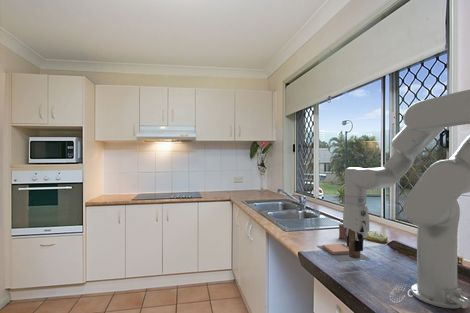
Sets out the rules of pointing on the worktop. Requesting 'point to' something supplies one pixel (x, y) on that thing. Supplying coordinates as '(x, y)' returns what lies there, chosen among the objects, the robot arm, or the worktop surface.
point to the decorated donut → (377, 237)
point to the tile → (336, 249)
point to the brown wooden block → (352, 252)
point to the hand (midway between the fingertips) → (354, 248)
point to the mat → (343, 255)
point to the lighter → (342, 231)
